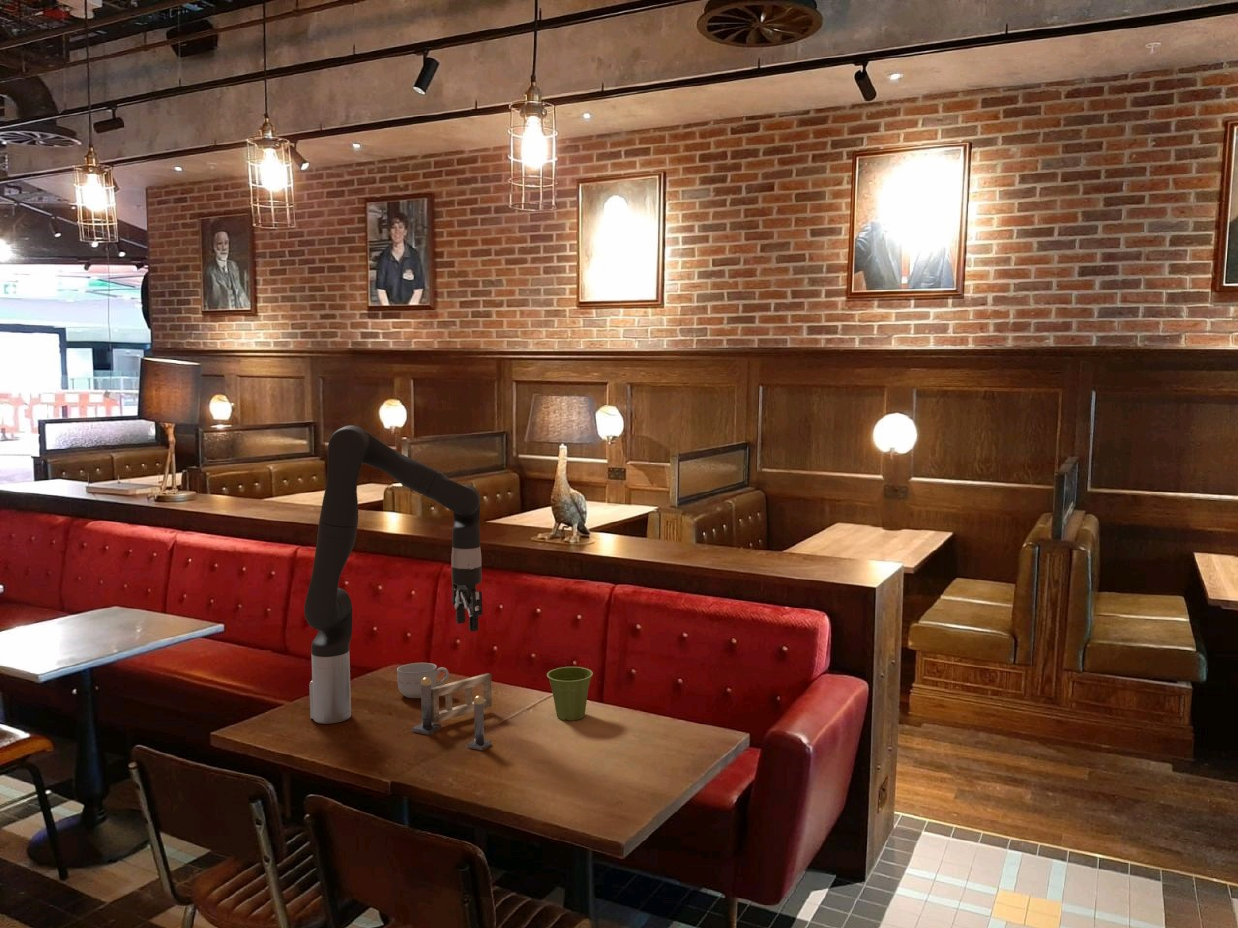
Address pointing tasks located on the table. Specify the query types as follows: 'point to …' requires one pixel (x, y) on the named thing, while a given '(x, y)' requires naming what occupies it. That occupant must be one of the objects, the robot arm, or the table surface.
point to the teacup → (418, 677)
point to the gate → (469, 705)
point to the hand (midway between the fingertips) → (467, 626)
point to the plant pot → (570, 691)
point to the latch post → (479, 726)
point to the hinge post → (426, 710)
